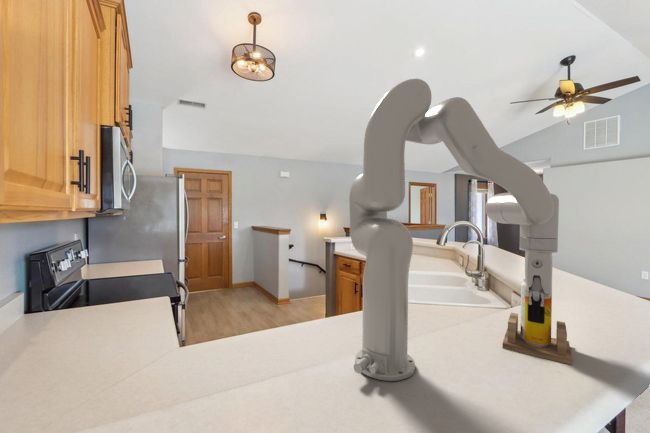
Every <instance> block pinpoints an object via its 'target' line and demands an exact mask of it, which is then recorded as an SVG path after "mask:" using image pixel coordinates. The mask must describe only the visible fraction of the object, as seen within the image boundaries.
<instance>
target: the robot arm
mask: <svg viewBox="0 0 650 433" xmlns="http://www.w3.org/2000/svg"><path fill="white" fill-rule="evenodd" d="M431 90H432V89H431V87H430V85H429V84H428V83H427V81H425V80H423V79H422V78H421V79H419V78H409V79H405V80H404V81H401V82H399V83H397V84H396V85H395V86H393V87H392V88H391V89H390V90H388V91H387V92H386V93H385V94H384V95H383V97H382V98H381V99H380V101H379V102H378V103H377V104H376V106H375V108H374V110H373V111H372V113H371V115H370V117H369V119H368V122H367V125H366V128H365V132H364V139H363V140H364V141H363V161H362V162H363V163H362V164H363V169H362V170H363V171H362V173H361V174H359V175H358V176H356V178H354V180H353V182H352V184H351V186H350V191H349V197H348V200H349V201H348V202H349V227H350V228H349V231H350V232H349V233H350V239H351V243H352V246H353V247H354V250H356V251H357V252H358V254H359V253H360V255H362V256H364V257H365V258H366V259H365V264H364V269H363V273H362V274H363V277H362V349H361V350H359V351H358V352H357V353H356V354H355V358H354V361H355V362H354V364H353V369H354V372H355V373H357V374H364V375H366V376H367V377H369V378H372V379H375V380H378V381H386V382H397V381H402V380H405V379H407V378H409V377H411V376H412V375H413V374H414V373H415V370H416V363H415V360H414V358H412V356H411V355H410V354H408V345H409V344H408V343H409V342H408V340H409V338H408V333H409V332H408V331H409V329H408V327H409V326H408V325H409V324H408V323H409V322H408V321H409V316H408V315H409V274H410V273H409V272H410V266H411V260H412V256H413V250H414V242H413V237H412V233H411V232H410V230H409V229H408V228H407V226H406V225H405V224H403V223H402V222H401V221H399V220H397V219H393V218H388V212H392V211H395V210H397V209H398V208H400V207H401V206H402V204H403V203H404V200H405V196H406V176H405V175H406V170H405V166H406V165H405V164H406V163H405V149H406V142H410V143H411V142H412V143H415V144H421V145H436V144H439V143H442V142H443V144H444V145H445V148H447V149H448V151H449V153H450V154H451V155H452V156H453V158H454V159H455V161H456V163H457V164H458V166H459V167H460V169H461V170H462V171H463V172H464V173H466V174H469V175H471V176H473V177H477V178H480V179H484V180H486V181H489V182H492V183H495V184H496V185H498V186H499V187H501V188H503V189H504V190H506V191H507V192H502V193H496V194H494V195H493V196H491V197H489V198H488V199H487V201H486V203H485V205H484V211H485V214H486V216H487V217H488V218H489V219H490V220H491V221H493V222H496V223H498V224H504V225H505V224H506V225H507V224H508V225H519V250H520V251H523V252H524V279H525V282H526V291H527V292H528V293H529V304H528V321H530V322H535V323H540V324H544V318H545V306H543V305H544V292H545V294H548V296H550V295H551V294H553V254H555V253H558V251H559V250H558V249H559V248H558V246H559V218H560V215H559V211H560V205H559V204H560V200H559V197H558V195H557V194H554V193H550V190H549V189H548V188H547V186H546V184H545V182H544V181H543V179H542V178H541V176H540V175H539V174H538V173H537V172H536V171H535V170H534V169H532V167H530V166H529V165H527V164H526V163H525V162H523V161H521V160H519V159H517V158H516V157H515V156H513V155H511V154H509V153H507V152H506V151H503V150H502V149H501V148H499V146H498V145H497V143H496V142H495V140H494V139H493V137H492V136H491V135H490V133H489V131H488V130H487V128H486V127H485V125H484V123H483V122H482V121H481V120H482V119H481V118H480V117H479V116H478V114H477V113H476V111H475V110H474V108H473V107H472V105H471V104H470V102H469V101H468V100H466V99H465V98H463V97H458V96H456V97H454V96H453V97H449V98H447V99H445V100H444V101H443V100H442V101H441V102H439V103H438V104H436V105H434V106H432V107H431V105H432V91H431ZM430 107H431V108H430ZM533 279H534V282H533ZM540 280H541V284H540ZM529 287H530V290H529ZM532 288H533V291H531V289H532ZM540 290H542V293H541V292H540ZM529 291H530V292H529ZM540 296H541V297H540Z"/></svg>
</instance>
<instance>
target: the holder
mask: <svg viewBox="0 0 650 433" xmlns="http://www.w3.org/2000/svg"><path fill="white" fill-rule="evenodd" d="M508 317H509V318H508V321H507V329H506V331H505V335H504V338H503V341H502V346H501V348H502V349H506V350H509V351H513V352H518V353H521V354H525V355H529V356H532V357H533V356H534V357H537V358H543V359H546V360H550V361H554V362H558V363H563V364H566V365H570V366H572V365H573V358H572V352H571V347H570V341H568V331H567V326H566V322H565V321H561V320H560V321H559V320H556V334H555V336H556V338H554V337H551V343H550V344H549V345H548V346H547V347H537V346H533V345H530V344H527V343H525V342H524V341H523V339H522V338H521V336H520V334H521V330H519V314H518V313H515V312H510V315H509V316H508Z"/></svg>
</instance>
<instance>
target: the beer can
mask: <svg viewBox="0 0 650 433" xmlns="http://www.w3.org/2000/svg"><path fill="white" fill-rule="evenodd" d="M533 282H534V279H533ZM540 284H541V280H540ZM529 290H530V287H529ZM531 291H533V288H532V289H531ZM529 292H530V291H529ZM540 292H541V293H542V290H540ZM552 294H553V293H552ZM552 294H551V295H550V296H548V294H545V292H544V305H543V306H545V318H544V324H540V323H535V322H530V321H528V304H529V293H528V292H527V291H526V282H525V278H524V279H523V280H522V282H521V283H520V331H521V334H520V336H521V338H522V339H523V341H524V342H525V343H527V344H530V345H533V346H537V347H547V346H548V345H549V344H550V343H551V338H552V310H553V308H552V303H553V300H552V299H553V297H552V296H553V295H552ZM540 297H541V296H540Z"/></svg>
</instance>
